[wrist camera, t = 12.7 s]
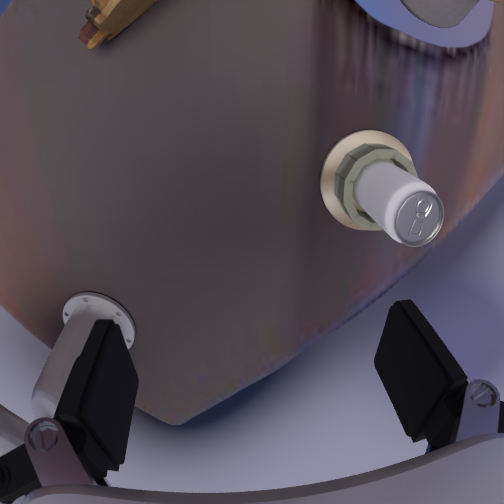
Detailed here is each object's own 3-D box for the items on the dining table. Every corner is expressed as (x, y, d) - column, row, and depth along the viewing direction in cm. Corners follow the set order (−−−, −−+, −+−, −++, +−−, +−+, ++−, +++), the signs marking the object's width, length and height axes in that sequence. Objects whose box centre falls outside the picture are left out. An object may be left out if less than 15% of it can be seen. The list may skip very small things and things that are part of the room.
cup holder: (404, 224, 41) (420, 239, 37) (317, 229, 40) (327, 245, 36) (414, 133, 34) (433, 139, 30) (320, 127, 34) (331, 132, 30)
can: (398, 162, 35) (455, 193, 25) (386, 209, 38) (434, 253, 28) (353, 151, 35) (402, 180, 24) (342, 202, 38) (382, 248, 27)
